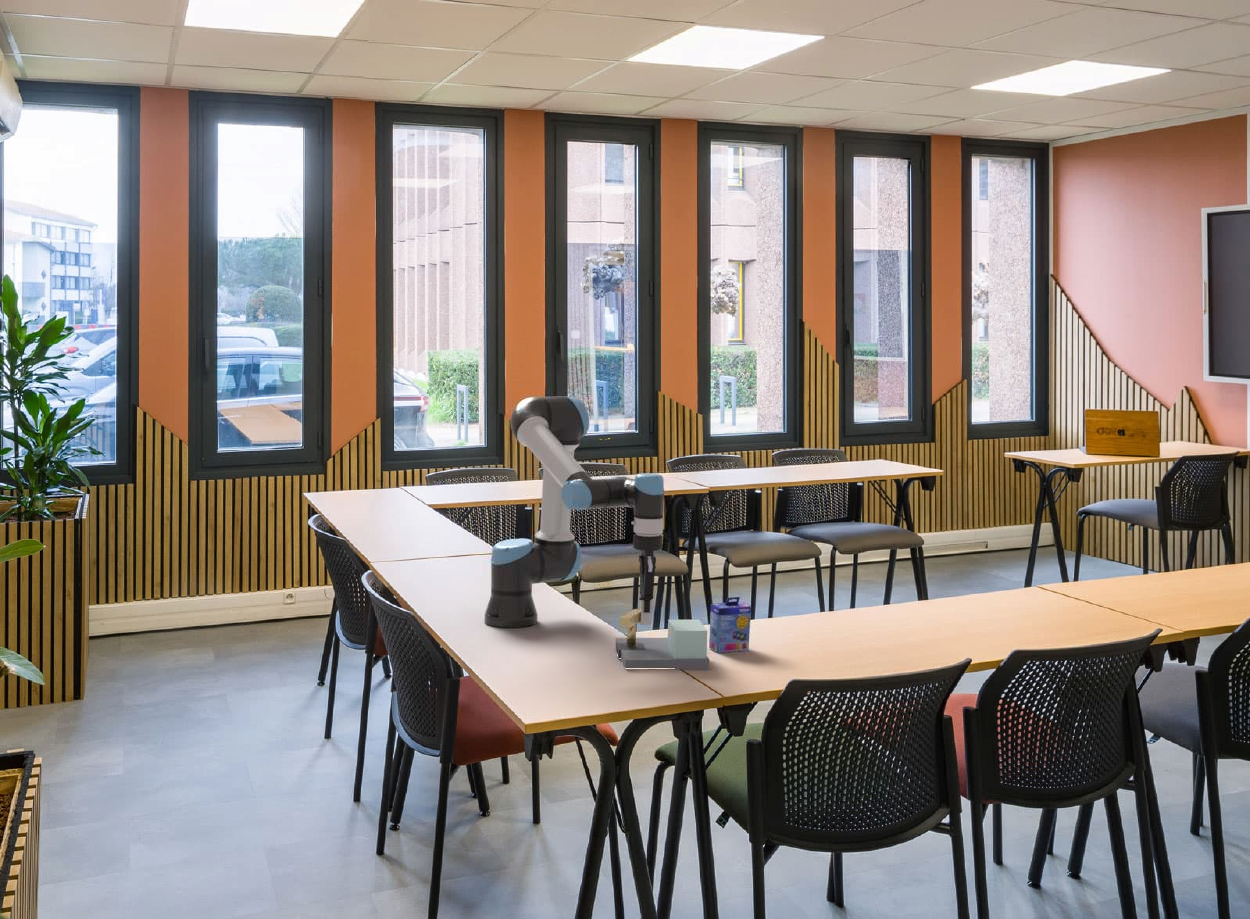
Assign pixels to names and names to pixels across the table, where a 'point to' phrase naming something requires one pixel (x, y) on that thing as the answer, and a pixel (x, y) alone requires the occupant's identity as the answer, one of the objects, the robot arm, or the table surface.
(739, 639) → the ink cartridge box
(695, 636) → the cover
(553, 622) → the table surface
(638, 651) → the panel
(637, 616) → the wooden t-shaped block
